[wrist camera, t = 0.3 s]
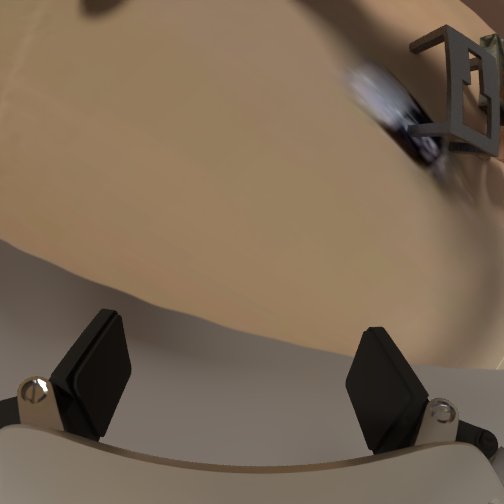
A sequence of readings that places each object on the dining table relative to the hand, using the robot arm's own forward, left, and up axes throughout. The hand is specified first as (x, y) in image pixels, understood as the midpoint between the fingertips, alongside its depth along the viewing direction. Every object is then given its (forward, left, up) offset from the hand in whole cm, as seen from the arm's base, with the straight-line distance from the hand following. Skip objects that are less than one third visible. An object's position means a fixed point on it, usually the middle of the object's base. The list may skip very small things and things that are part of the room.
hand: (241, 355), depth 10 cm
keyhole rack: (-24, +29, -31) cm, 48 cm away
